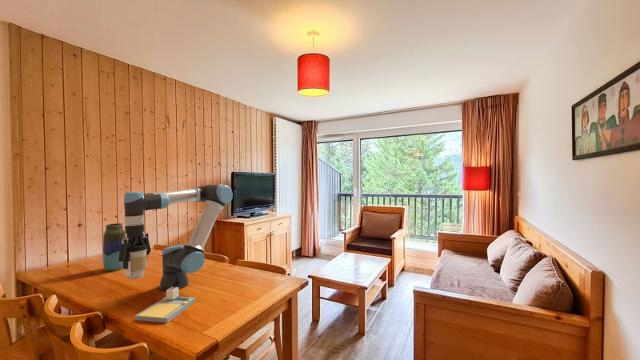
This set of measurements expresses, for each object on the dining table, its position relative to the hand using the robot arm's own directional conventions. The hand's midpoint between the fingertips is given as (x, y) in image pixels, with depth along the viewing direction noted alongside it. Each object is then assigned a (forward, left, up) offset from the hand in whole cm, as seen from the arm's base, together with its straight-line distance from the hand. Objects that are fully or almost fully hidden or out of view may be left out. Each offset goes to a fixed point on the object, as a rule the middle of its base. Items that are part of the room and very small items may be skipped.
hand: (136, 271), depth 129 cm
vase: (-65, +51, -19) cm, 85 cm away
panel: (+14, +3, -19) cm, 24 cm away
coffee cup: (0, 0, -3) cm, 3 cm away
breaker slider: (+11, +10, -16) cm, 22 cm away
